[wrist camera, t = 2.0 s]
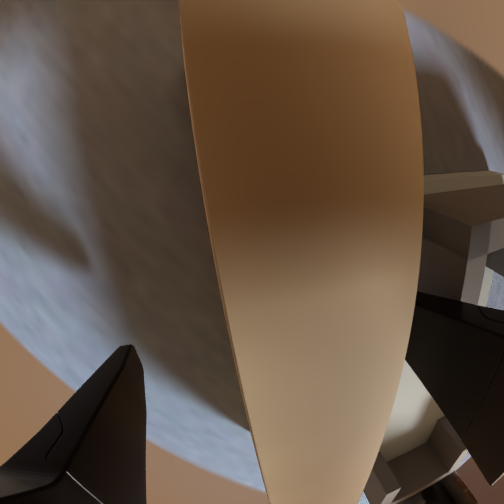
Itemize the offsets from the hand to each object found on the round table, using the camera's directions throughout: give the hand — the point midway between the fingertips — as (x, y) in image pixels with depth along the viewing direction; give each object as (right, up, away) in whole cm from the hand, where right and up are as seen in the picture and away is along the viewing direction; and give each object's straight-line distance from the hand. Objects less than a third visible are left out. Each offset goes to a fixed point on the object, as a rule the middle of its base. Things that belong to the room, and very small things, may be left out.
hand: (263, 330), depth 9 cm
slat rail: (+9, -4, +6) cm, 12 cm away
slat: (0, +1, +2) cm, 2 cm away
